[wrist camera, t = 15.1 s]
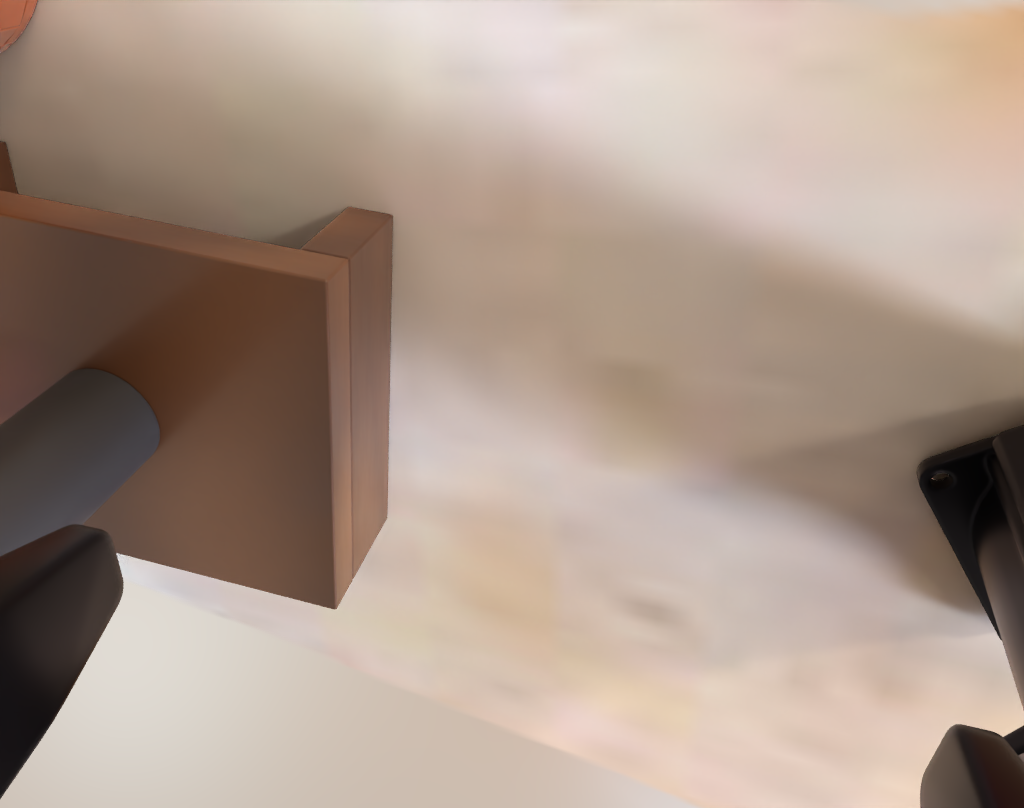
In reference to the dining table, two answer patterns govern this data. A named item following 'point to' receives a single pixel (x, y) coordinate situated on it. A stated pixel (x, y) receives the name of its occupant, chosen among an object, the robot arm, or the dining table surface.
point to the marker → (70, 453)
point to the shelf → (217, 381)
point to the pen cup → (14, 20)
